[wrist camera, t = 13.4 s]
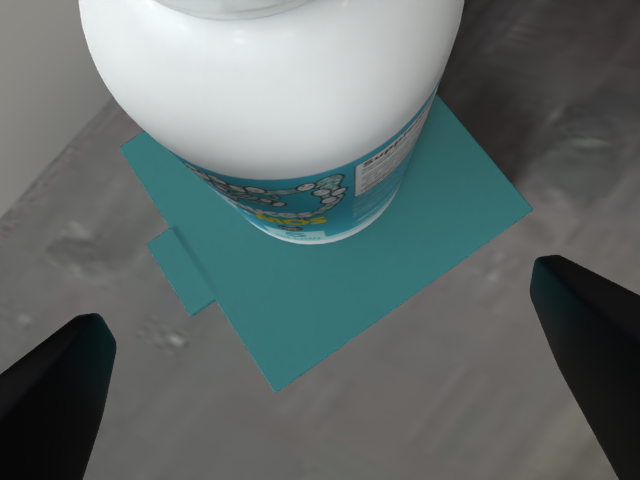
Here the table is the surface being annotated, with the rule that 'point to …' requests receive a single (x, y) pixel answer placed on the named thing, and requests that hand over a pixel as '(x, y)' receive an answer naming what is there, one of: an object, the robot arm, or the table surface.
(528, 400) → the table surface
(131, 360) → the table surface
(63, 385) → the robot arm
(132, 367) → the table surface
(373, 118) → the pill bottle
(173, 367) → the table surface
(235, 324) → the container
